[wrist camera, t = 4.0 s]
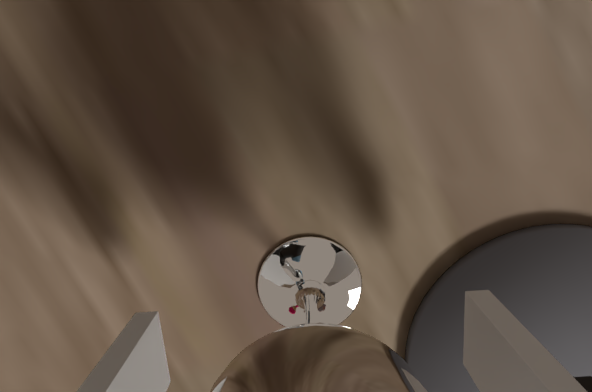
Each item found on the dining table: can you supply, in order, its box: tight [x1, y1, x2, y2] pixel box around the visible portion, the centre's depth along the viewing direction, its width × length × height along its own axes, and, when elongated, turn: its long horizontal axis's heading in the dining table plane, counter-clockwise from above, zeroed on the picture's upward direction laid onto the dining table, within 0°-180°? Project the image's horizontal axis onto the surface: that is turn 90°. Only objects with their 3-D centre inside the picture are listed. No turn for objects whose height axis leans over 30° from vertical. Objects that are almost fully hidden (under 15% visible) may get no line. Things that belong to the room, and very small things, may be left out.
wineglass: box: [210, 236, 429, 392], centre depth 11 cm, size 6×6×12 cm
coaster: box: [405, 224, 592, 392], centre depth 17 cm, size 12×12×1 cm
